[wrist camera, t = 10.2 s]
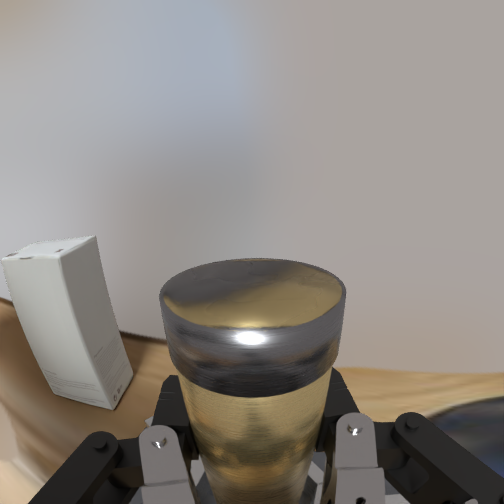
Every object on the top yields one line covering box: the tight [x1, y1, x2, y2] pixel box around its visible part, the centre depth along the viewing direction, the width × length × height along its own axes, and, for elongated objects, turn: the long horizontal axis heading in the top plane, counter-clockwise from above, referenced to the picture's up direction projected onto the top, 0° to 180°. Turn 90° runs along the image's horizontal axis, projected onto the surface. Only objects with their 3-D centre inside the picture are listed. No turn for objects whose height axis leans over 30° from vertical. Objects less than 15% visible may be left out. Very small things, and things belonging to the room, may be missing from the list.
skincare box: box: [1, 236, 133, 410], centre depth 20 cm, size 8×6×15 cm
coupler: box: [159, 258, 346, 504], centre depth 9 cm, size 5×5×12 cm
